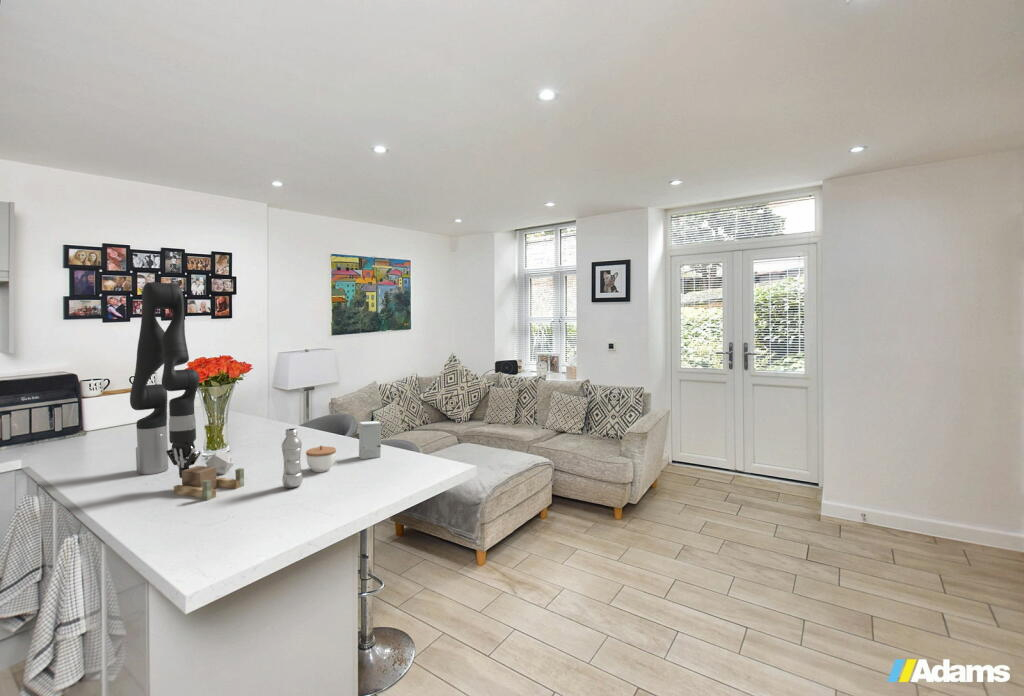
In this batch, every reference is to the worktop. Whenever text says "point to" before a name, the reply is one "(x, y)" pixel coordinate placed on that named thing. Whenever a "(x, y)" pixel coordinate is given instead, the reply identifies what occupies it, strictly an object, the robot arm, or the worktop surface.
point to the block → (199, 476)
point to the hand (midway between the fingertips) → (184, 477)
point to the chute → (206, 486)
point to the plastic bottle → (292, 459)
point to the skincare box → (369, 439)
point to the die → (221, 462)
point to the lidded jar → (321, 458)
